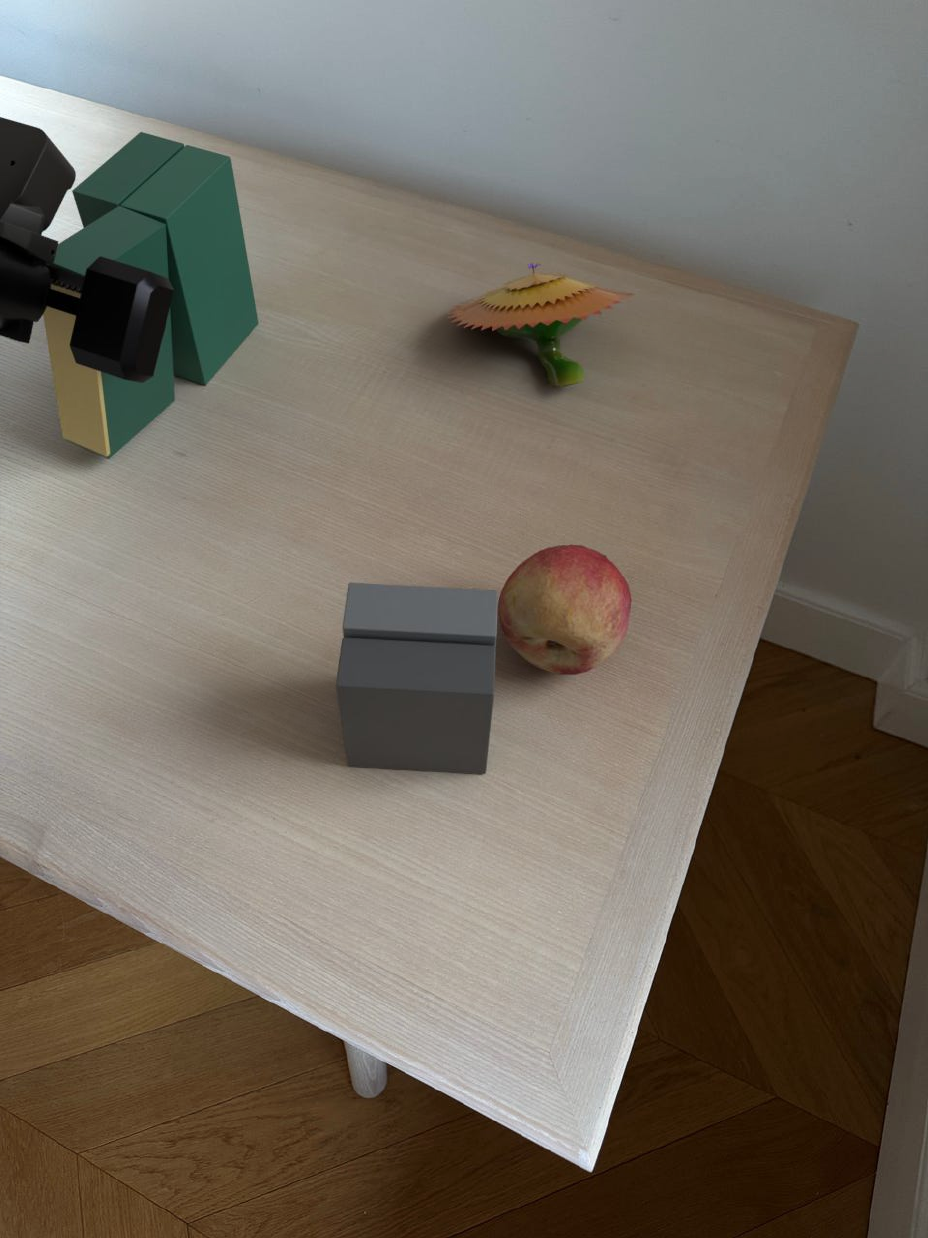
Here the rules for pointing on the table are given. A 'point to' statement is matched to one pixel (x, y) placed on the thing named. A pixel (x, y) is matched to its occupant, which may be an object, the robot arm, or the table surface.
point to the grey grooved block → (417, 677)
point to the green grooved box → (185, 242)
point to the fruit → (565, 609)
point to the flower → (540, 315)
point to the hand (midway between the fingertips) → (103, 311)
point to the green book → (88, 398)
